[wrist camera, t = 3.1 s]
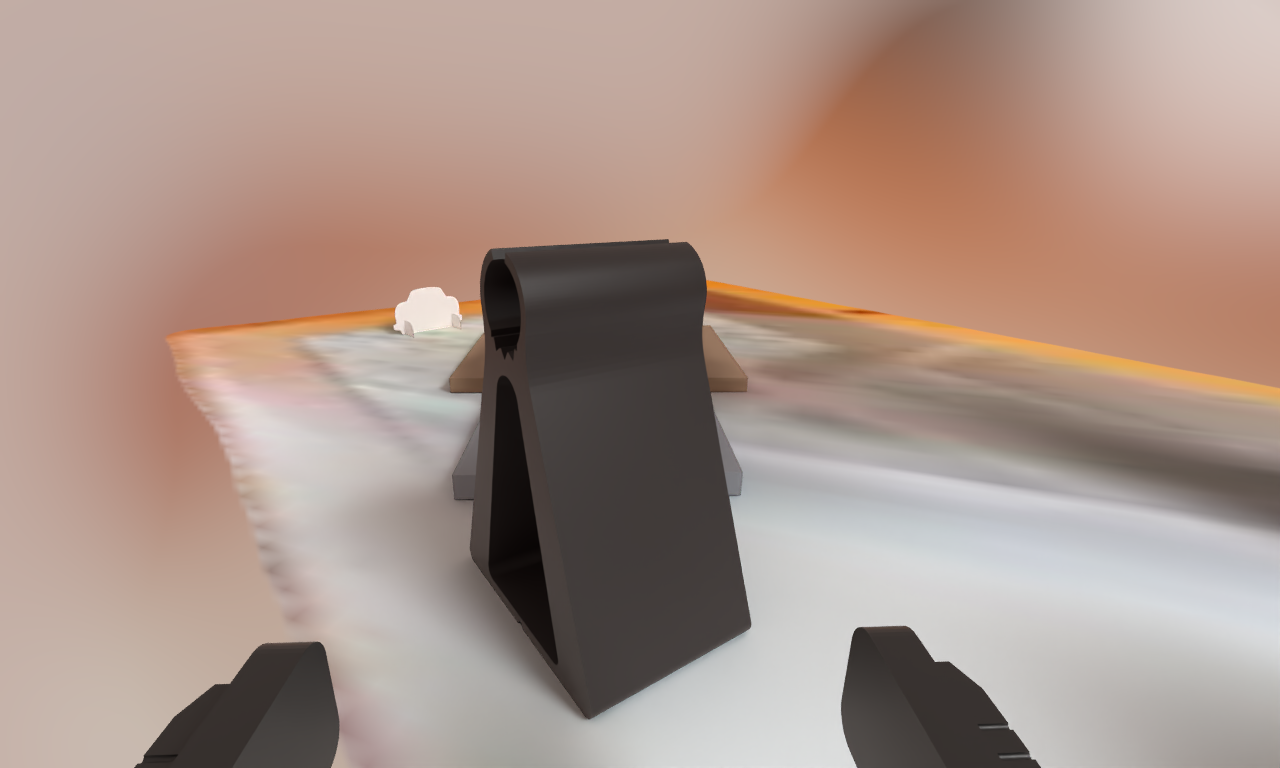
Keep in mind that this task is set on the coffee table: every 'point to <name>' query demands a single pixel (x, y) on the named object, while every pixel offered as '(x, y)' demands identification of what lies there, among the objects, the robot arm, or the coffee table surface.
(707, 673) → the coffee table surface
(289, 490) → the coffee table surface
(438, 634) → the coffee table surface
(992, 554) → the coffee table surface
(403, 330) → the car cutout
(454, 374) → the marked board
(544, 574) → the phone stand
